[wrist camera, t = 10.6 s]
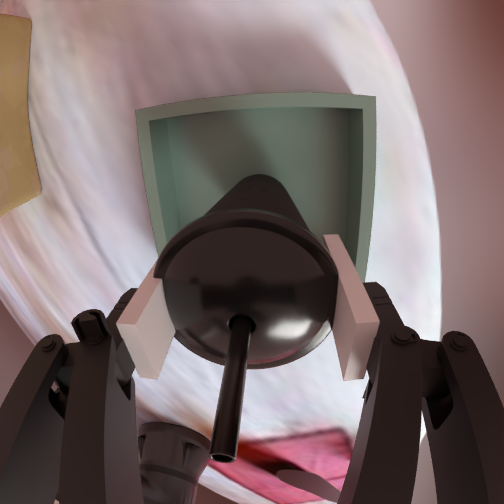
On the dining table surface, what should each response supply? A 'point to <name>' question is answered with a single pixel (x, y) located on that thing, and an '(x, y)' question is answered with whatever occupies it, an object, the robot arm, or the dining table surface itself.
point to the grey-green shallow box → (264, 159)
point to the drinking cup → (247, 291)
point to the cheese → (15, 116)
